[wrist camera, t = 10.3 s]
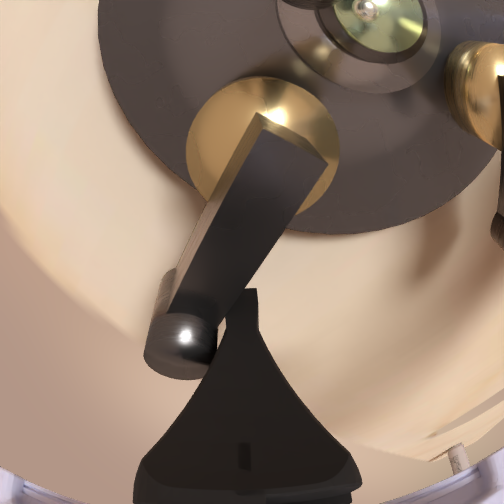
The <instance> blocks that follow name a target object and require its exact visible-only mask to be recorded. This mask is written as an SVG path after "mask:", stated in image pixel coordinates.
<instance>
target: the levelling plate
mask: <svg viewBox="0 0 504 504" xmlns="http://www.w3.org/2000/svg"><path fill="white" fill-rule="evenodd" d="M98 39H99V44H100V50H101V55H102V60H103V65H104V69H105V71H106V74H107V77H108V80H109V82H110V85H111V88H112V90H113V93H114V95H115V97H116V99H117V101H118V103H119V105H120V106H121V108H122V110H123V112H124V114H125V115H126V117H127V119H128V121H129V122H130V124H131V125H132V126H133V128H134V129H135V130H136V132H137V133H138V134H139V136H140V137H141V138H142V140H143V141H144V142H145V144H146V145H147V146H148V147H149V148H150V149H151V150H152V151H153V152H154V153H155V154H156V156H157V157H158V158H159V159H160V160H161V161H162V162H163V163H164V164H165V165H166V166H167V167H168V168H169V169H170V170H172V171H173V172H174V173H176V174H177V175H178V176H179V177H181V178H182V179H183V180H184V181H186V182H187V183H188V184H189V185H191V186H192V187H193V188H195V189H196V190H197V188H196V187H195V185H194V183H193V181H192V179H191V177H190V174H189V171H188V167H187V162H186V142H187V137H188V133H189V130H190V127H191V125H192V122H193V120H194V119H195V117H196V115H197V113H198V112H199V111H200V109H201V108H202V107H203V106H204V104H205V103H206V102H207V101H208V99H209V98H210V97H211V96H212V95H213V94H214V93H215V92H216V91H217V90H219V89H220V88H222V87H223V86H225V85H226V84H228V83H230V82H232V81H235V80H238V79H241V78H245V77H251V76H268V77H273V78H277V79H280V80H284V81H286V82H289V83H292V84H295V85H297V86H299V87H301V88H303V89H305V90H306V91H308V92H309V93H311V94H312V95H313V96H315V97H316V98H317V99H318V100H319V101H320V102H321V103H322V104H323V105H324V107H325V108H326V109H327V110H328V112H329V114H330V115H331V117H332V119H333V121H334V123H335V126H336V129H337V132H338V136H339V143H340V156H339V163H338V167H337V170H336V173H335V176H334V178H333V180H332V182H331V184H330V185H329V187H328V189H327V190H326V191H325V193H324V194H323V195H322V196H321V197H320V198H319V199H318V200H317V201H316V202H315V203H314V204H313V205H311V206H310V207H309V208H307V209H306V210H304V211H303V212H301V213H299V214H297V215H295V216H294V217H293V218H292V220H291V221H290V223H289V224H288V226H287V227H286V228H288V229H292V230H297V231H302V232H312V233H323V234H355V233H362V232H370V231H377V230H382V229H386V228H389V227H393V226H397V225H401V224H404V223H406V222H409V221H411V220H414V219H416V218H419V217H422V216H424V215H426V214H427V213H429V212H431V211H433V210H435V209H437V208H439V207H440V206H442V205H444V204H445V203H446V202H448V201H449V200H451V199H452V198H453V197H455V196H456V195H458V194H459V193H460V192H461V191H463V190H464V189H465V188H466V187H467V186H468V185H469V184H470V183H471V182H472V181H473V180H474V179H475V178H476V177H477V176H478V175H479V174H480V173H481V171H482V170H483V169H484V168H485V167H486V165H487V164H488V163H489V162H490V160H491V158H492V157H493V155H494V154H495V152H496V151H497V148H495V147H493V146H491V145H489V144H488V143H486V142H484V141H482V140H480V139H478V138H476V137H474V136H472V135H470V134H469V133H467V132H465V131H464V130H463V129H461V128H460V127H459V125H458V124H457V123H456V122H455V120H454V119H453V117H452V115H451V113H450V111H449V108H448V106H447V102H446V98H445V93H444V71H445V66H446V62H447V59H448V57H449V55H450V53H451V52H452V50H453V49H454V48H455V47H456V46H457V45H459V44H460V43H462V42H465V41H471V40H473V41H482V42H490V43H497V44H504V0H343V1H341V2H339V3H337V4H335V5H333V6H331V7H328V8H325V9H320V10H305V9H300V8H296V7H293V6H291V5H289V4H286V3H285V2H283V1H282V0H99V6H98Z"/></svg>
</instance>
